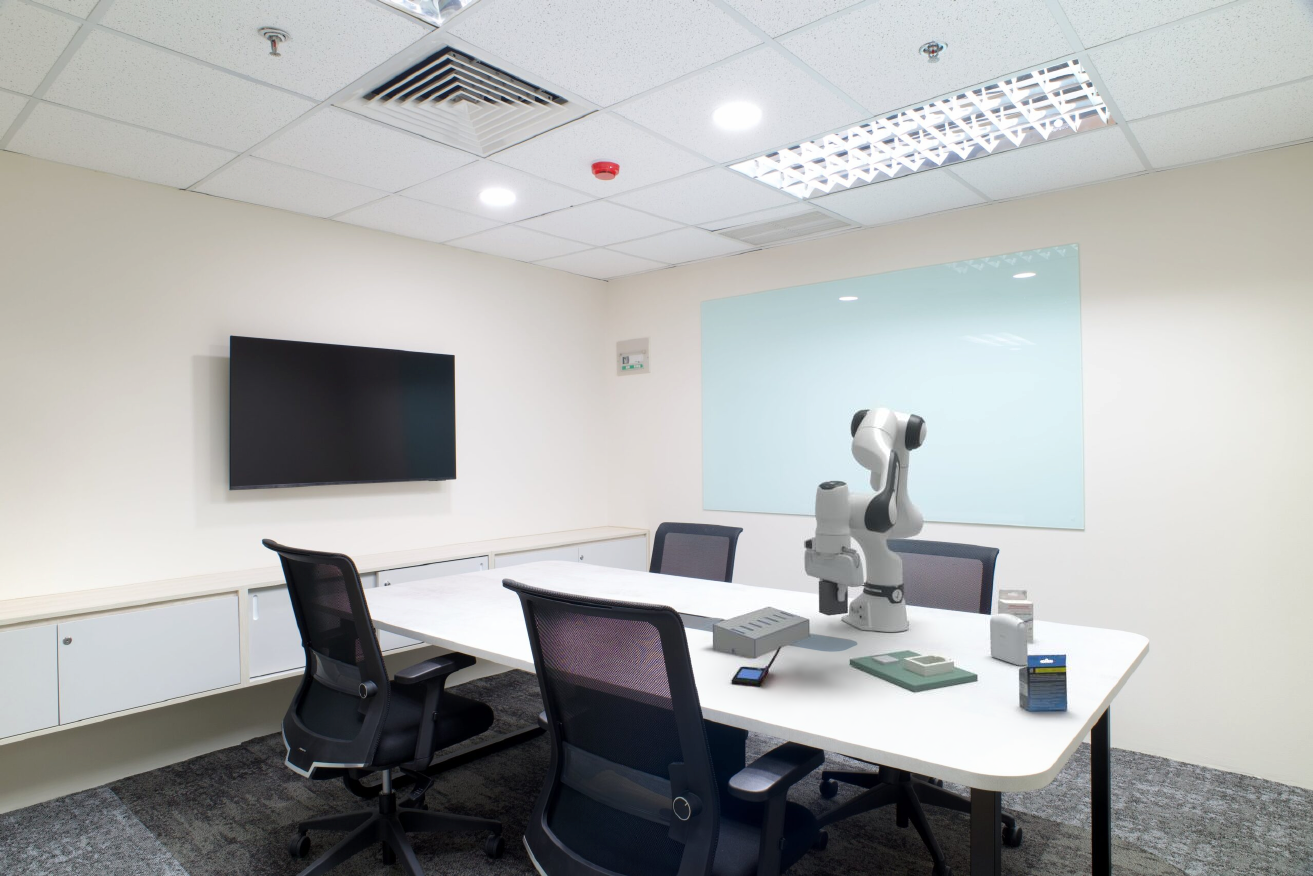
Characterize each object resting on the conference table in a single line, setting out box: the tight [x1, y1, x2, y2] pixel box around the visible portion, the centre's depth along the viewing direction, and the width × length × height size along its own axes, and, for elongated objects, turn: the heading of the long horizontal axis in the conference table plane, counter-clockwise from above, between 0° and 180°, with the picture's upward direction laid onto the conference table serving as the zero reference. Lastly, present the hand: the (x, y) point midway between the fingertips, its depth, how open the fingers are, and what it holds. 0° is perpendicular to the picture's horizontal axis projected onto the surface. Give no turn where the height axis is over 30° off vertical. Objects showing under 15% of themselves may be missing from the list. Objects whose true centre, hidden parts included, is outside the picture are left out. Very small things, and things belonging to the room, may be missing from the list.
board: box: [849, 649, 978, 693], centre depth 189 cm, size 24×20×4 cm
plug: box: [818, 580, 849, 617], centre depth 190 cm, size 4×7×8 cm, turn 113°
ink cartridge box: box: [997, 588, 1034, 644], centre depth 219 cm, size 9×5×15 cm, turn 84°
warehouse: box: [712, 606, 811, 659], centre depth 219 cm, size 30×14×8 cm, turn 139°
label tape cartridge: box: [1018, 653, 1068, 712], centre depth 163 cm, size 9×4×12 cm, turn 92°
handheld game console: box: [731, 646, 782, 688], centre depth 185 cm, size 12×11×7 cm
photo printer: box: [989, 613, 1029, 666], centre depth 199 cm, size 10×4×12 cm, turn 20°
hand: (833, 598), depth 190 cm, fingers closed on plug, 4 cm apart
